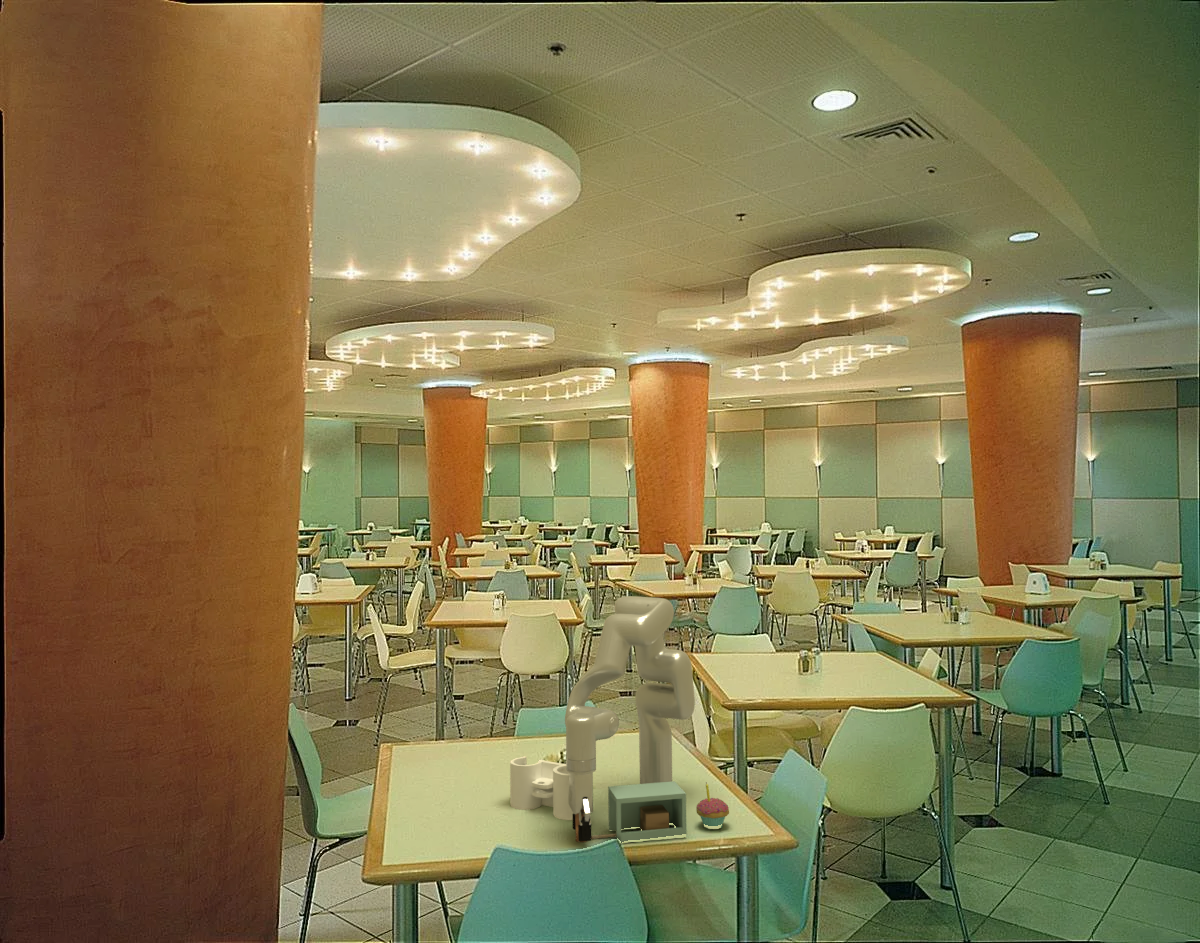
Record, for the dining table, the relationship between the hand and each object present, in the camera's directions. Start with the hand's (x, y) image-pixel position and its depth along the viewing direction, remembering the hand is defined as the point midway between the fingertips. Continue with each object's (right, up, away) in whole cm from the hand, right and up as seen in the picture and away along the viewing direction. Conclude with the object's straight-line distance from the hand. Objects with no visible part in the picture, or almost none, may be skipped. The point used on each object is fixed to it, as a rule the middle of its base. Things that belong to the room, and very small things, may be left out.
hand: (581, 834), depth 227 cm
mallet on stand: (+10, -1, +2) cm, 10 cm away
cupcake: (+34, -1, +8) cm, 35 cm away
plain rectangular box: (+17, -1, +3) cm, 17 cm away
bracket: (-10, -3, +23) cm, 25 cm away
